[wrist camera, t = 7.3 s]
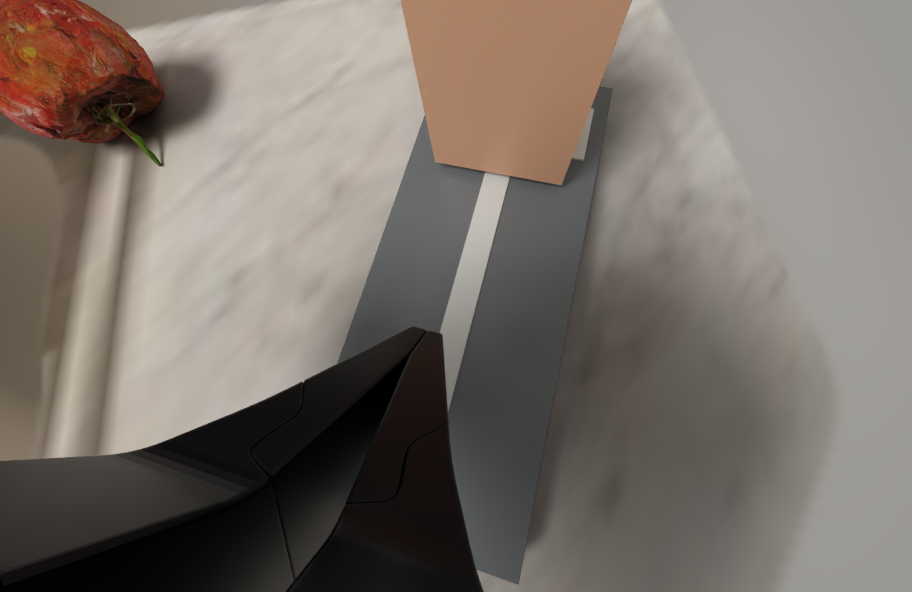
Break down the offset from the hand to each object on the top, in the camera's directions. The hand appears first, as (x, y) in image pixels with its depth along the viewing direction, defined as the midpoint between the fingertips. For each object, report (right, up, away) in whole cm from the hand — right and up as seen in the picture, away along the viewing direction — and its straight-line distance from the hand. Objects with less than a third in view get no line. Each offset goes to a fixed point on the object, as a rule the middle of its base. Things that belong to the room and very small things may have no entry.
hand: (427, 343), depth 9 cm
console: (+2, +2, +8) cm, 8 cm away
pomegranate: (-19, +12, +13) cm, 26 cm away
